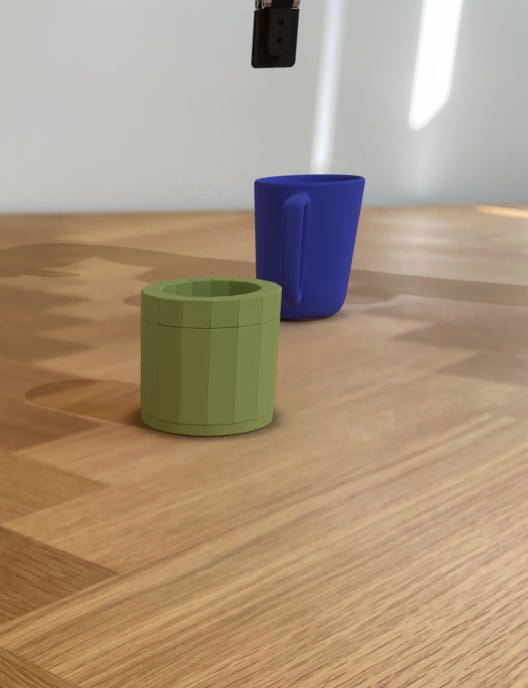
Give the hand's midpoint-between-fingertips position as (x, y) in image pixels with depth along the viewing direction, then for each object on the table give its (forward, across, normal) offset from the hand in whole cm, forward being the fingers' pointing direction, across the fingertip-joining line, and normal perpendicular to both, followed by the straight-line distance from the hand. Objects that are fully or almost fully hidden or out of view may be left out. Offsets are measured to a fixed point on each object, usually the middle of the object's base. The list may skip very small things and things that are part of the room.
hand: (272, 67), depth 83 cm
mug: (+18, -11, -1) cm, 21 cm away
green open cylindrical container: (+18, -37, +11) cm, 42 cm away
